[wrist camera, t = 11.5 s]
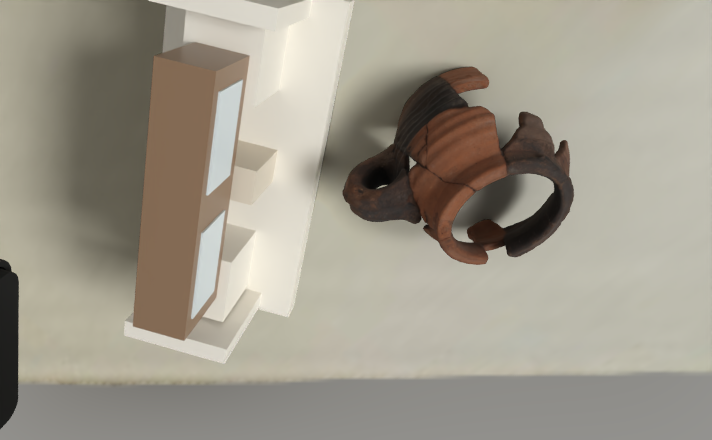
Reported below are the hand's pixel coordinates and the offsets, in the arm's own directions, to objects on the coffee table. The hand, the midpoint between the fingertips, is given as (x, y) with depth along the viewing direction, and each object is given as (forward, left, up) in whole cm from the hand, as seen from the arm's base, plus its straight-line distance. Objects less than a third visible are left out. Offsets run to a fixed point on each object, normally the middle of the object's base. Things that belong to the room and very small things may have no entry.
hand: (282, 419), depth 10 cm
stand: (+7, -10, -29) cm, 31 cm away
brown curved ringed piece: (+4, +3, -29) cm, 30 cm away
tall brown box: (+7, -10, -23) cm, 26 cm away
